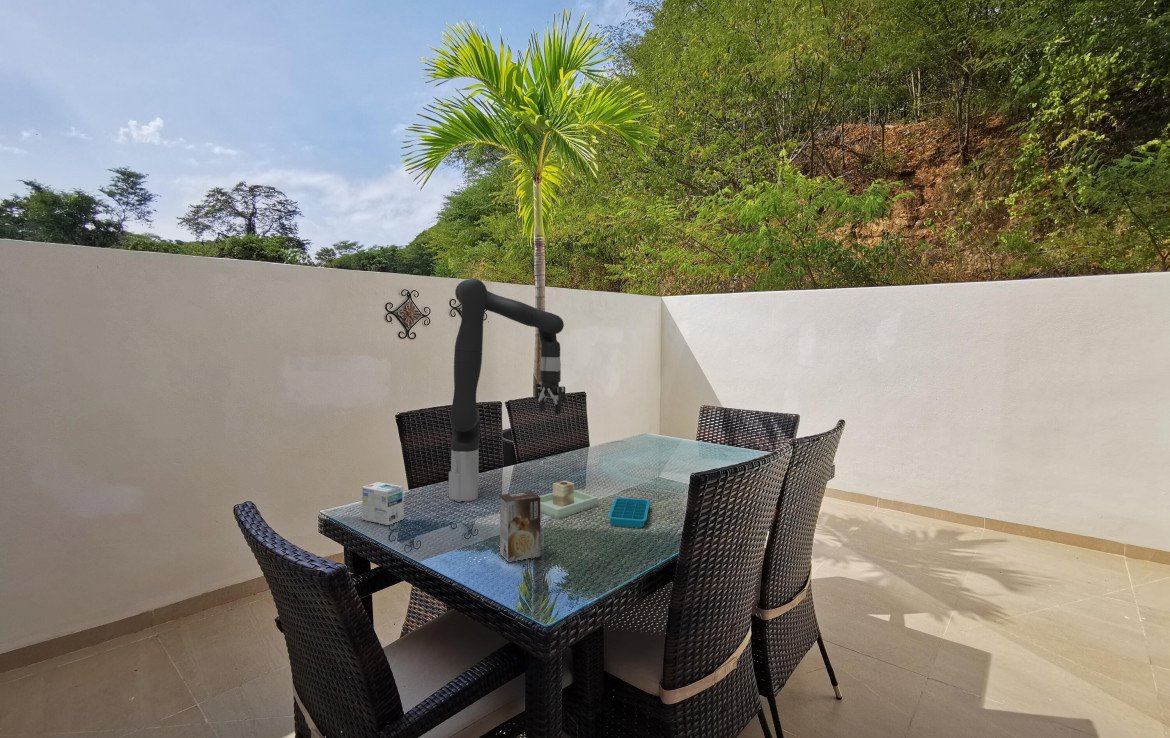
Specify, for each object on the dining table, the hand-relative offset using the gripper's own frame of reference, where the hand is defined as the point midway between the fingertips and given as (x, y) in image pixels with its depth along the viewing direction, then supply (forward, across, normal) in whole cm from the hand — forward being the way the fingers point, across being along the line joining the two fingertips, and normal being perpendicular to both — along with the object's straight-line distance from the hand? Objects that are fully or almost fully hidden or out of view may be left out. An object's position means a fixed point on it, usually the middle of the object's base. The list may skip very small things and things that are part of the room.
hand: (549, 412), depth 195 cm
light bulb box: (+28, -8, -60) cm, 67 cm away
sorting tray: (+28, +20, -11) cm, 36 cm away
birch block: (+27, +20, -11) cm, 35 cm away
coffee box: (+28, +40, -45) cm, 67 cm away
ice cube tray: (+29, +40, -1) cm, 50 cm away
